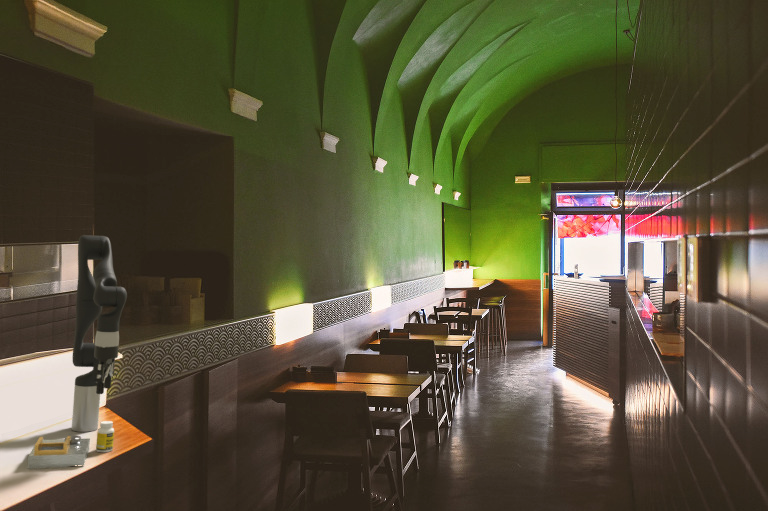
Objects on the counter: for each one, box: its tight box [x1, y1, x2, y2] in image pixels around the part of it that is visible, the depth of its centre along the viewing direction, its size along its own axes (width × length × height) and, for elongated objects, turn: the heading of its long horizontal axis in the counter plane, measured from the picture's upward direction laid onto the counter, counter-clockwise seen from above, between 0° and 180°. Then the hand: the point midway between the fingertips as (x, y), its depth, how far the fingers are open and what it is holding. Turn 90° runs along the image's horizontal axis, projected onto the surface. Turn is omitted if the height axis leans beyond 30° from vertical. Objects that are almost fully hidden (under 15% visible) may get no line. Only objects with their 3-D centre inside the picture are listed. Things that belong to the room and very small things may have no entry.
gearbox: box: [27, 435, 91, 470], centre depth 210 cm, size 18×16×7 cm
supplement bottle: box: [95, 420, 115, 453], centre depth 222 cm, size 5×5×10 cm
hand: (103, 390), depth 220 cm, fingers open, 8 cm apart
